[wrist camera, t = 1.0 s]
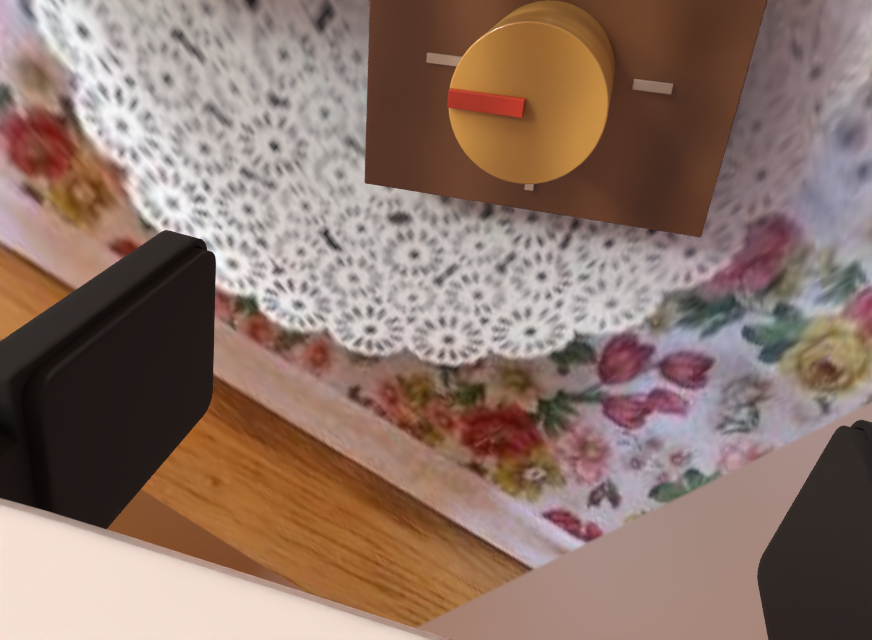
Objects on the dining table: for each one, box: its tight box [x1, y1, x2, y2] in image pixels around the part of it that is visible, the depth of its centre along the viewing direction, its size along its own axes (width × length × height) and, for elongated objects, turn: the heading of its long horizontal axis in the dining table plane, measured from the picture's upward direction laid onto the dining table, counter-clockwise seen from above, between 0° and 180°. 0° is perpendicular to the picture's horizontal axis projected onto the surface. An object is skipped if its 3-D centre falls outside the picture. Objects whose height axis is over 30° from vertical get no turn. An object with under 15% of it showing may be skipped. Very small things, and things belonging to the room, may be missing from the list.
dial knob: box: [447, 0, 615, 184], centre depth 25 cm, size 5×5×6 cm
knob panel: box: [365, 0, 767, 237], centre depth 29 cm, size 14×11×3 cm
